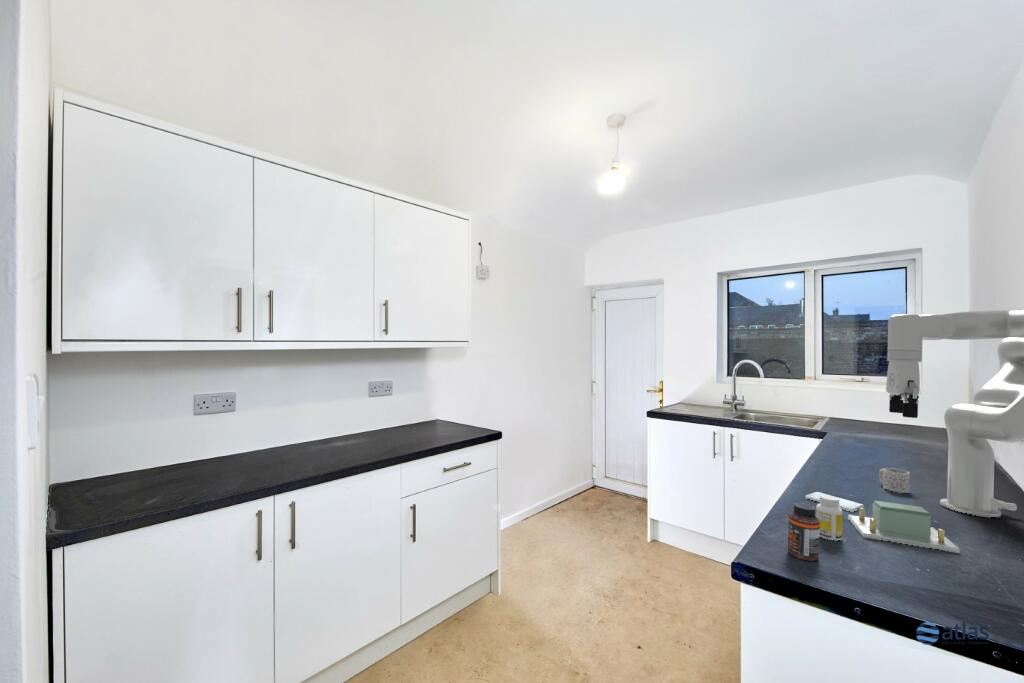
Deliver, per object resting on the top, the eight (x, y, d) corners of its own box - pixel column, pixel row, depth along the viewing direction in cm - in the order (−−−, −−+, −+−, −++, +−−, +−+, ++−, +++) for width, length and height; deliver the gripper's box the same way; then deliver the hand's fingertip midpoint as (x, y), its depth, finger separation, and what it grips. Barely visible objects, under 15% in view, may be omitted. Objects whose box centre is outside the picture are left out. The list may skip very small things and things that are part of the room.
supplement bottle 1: (781, 549, 102) (782, 500, 102) (805, 549, 102) (806, 500, 102) (800, 562, 96) (801, 510, 96) (825, 562, 96) (827, 510, 96)
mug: (914, 494, 144) (915, 474, 144) (894, 493, 144) (894, 473, 144) (889, 484, 154) (889, 465, 154) (870, 483, 154) (870, 464, 154)
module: (921, 530, 112) (921, 506, 112) (930, 537, 107) (930, 513, 107) (872, 522, 116) (872, 500, 116) (879, 529, 111) (879, 506, 111)
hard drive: (804, 495, 137) (852, 508, 126) (817, 491, 141) (864, 503, 130) (804, 500, 137) (852, 514, 126) (817, 496, 141) (864, 509, 130)
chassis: (932, 531, 114) (933, 515, 114) (959, 553, 102) (959, 535, 102) (848, 518, 121) (848, 503, 121) (863, 537, 109) (864, 520, 109)
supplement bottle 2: (837, 534, 111) (838, 495, 111) (845, 543, 106) (846, 502, 106) (812, 530, 113) (813, 492, 113) (819, 539, 108) (820, 499, 108)
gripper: (877, 355, 137) (876, 410, 137) (900, 356, 122) (898, 418, 121) (908, 356, 134) (906, 412, 134) (935, 357, 118) (933, 420, 118)
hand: (902, 414), depth 128 cm, fingers open, 9 cm apart
